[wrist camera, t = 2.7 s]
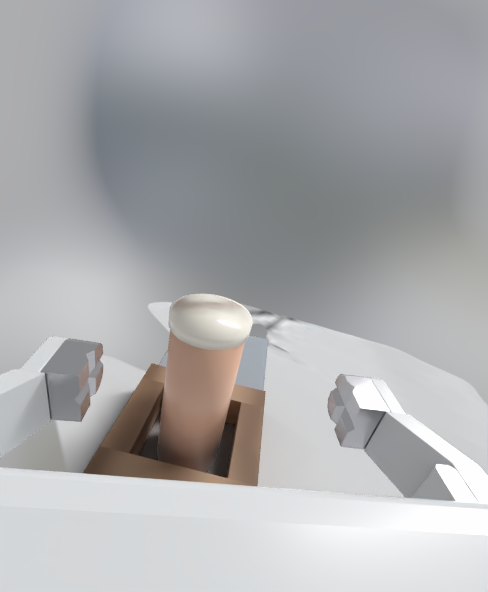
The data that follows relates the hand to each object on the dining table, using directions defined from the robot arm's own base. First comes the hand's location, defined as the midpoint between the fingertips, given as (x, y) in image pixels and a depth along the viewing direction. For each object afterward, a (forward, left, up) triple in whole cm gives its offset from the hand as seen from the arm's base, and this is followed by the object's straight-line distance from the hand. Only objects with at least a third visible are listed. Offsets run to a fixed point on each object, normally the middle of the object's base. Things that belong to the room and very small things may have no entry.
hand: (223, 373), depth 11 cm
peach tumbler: (-3, +13, -21) cm, 25 cm away
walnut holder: (-2, +12, -21) cm, 24 cm away
